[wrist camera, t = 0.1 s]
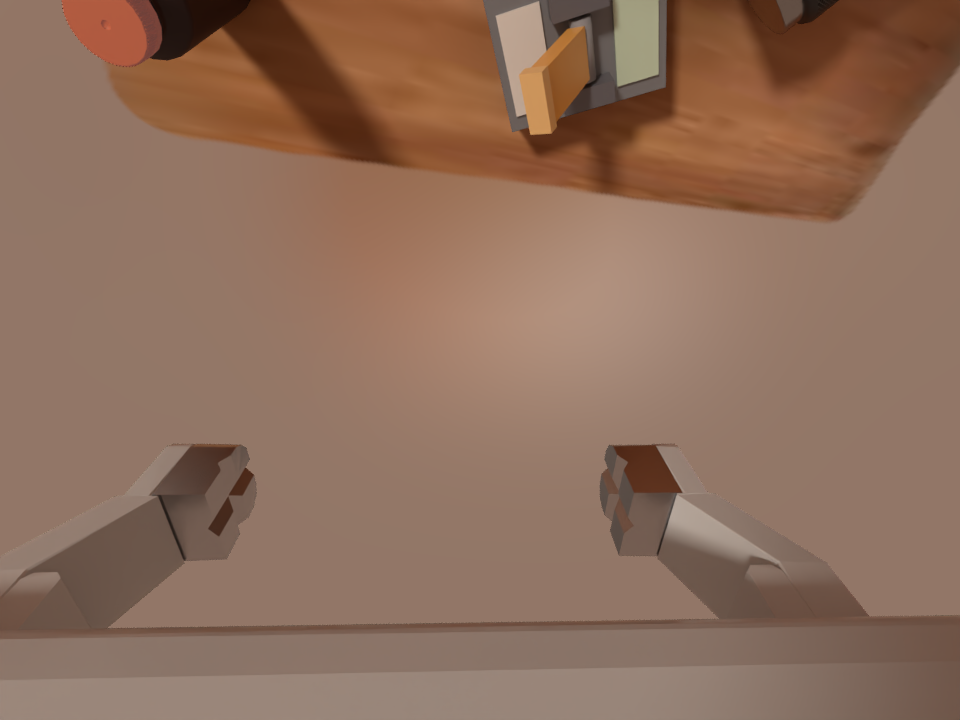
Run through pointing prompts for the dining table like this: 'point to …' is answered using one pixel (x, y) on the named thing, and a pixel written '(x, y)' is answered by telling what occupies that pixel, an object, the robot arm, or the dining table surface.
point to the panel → (616, 37)
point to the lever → (559, 76)
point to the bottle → (146, 26)
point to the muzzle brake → (788, 12)
